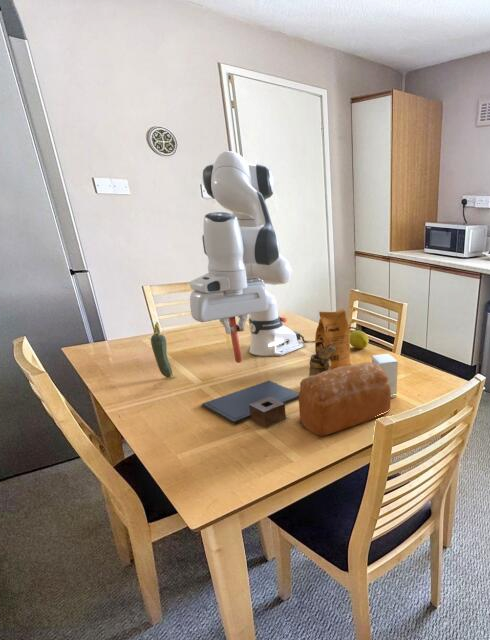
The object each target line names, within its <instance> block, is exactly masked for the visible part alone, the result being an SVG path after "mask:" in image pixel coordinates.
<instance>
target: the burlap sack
mask: <svg viewBox="0 0 490 640" xmlns="http://www.w3.org/2000/svg"><path fill="white" fill-rule="evenodd" d="M335 351H336V347H335V346H332V345H328V346H326V347H324V348H322V349H321V350H320V351H319V353H318V354H316V353H313V354H312V355H311V356H310V359H309V363H308V364H309V373H308V377H309V376H315V375H317V374H319V373H322V372H324V371H328V370H332V369H331V368H330V366H331V362H330V358H331V357H332V356H333V355H334V353H335Z"/></svg>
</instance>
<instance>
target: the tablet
mask: <svg viewBox="0 0 490 640" xmlns="http://www.w3.org/2000/svg"><path fill="white" fill-rule="evenodd" d="M298 394H299V392H297V391H294V390H292V389H289V388H287V387H286V386H283V385H282V384H281V385H280V384H279V383H276V382H274V381H271V380H266V381H263V382H260V383H256V384H255V385H251V386H249V387H246V388H243V389H240V390H237V391H234V392H231V393H228V394H226V395H223V396H219V397H217V398H214V399H211V400H207V401H205V402H203V403H201V406H202V407H203V408H204V409H206V410H208V411H210V412H212V413H213V414H215V415H217V416H219V417H220V418H222V419H224V420H226V421H228V422H229V423H231V424H233V425H237V424H239V423H242V422H244V421H247V420H250V419H251V416H250V408H249V404H252V403H255V402H257V401H260V400H262V399H265V398H268V397H271V398H274V399H276V400H278V401H280V402H282V403H284V404H285V405H286V404H288V403H290V402H293V401H296V400H299V396H298Z"/></svg>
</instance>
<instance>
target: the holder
mask: <svg viewBox="0 0 490 640" xmlns="http://www.w3.org/2000/svg"><path fill="white" fill-rule="evenodd" d="M249 408H250V416H251V418H250V421H253V422H254V423H256V424H258V425H260V426H261V427H264V428H265V429H266V428H269V427H271V426H273V425H276V424H278V423H279V422H282V421H284V420H286V419H287V414H286V404H284V403H282V402H280V401H278V400H276V399H274V398H271V397H268V398H265V399H262V400H260V401H257V402H255V403H252V404H249Z"/></svg>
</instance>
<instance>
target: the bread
mask: <svg viewBox="0 0 490 640" xmlns="http://www.w3.org/2000/svg"><path fill="white" fill-rule="evenodd" d="M299 388H300V390H299V392H298V393H299V394H298V396H299V398H298V409H299V410H298V411H299V414H298V415H299V422H300V423H301V424H302V425H303V427H305V429H307V430H308V431H310V433H313V434H315V435H317V436H318V437H323V436H328V435H331V434H334V433H338V432H340V431H343V430H345V429H346V430H347V429H348V428H351V427H353V426H356V425H359V424H362V423H365V422H367V421H370V420H373V419H376V418H379V417H382V416H385V415H387V414H388V413H389V412H390V411H391V398H390V396H391V392H390V385H389V382H388V376H387V374H386V373H385V372H384V371H383V370H382V369H381V368H380V367H378V366H377V365H376V364H373V363H372V362H370V361H365V362H361V363H356V364H355V363H354V364H350V365H347V366H342V367H337V368H333V369H331V370H328V371H324V372H322V373H319V374H317V375H315V376H309V375H308V376H306V377H304V378H302V379H301V381H300V382H299ZM389 409H390V410H389ZM388 410H389V411H388ZM386 411H388V412H387V413H384V412H386ZM381 413H384V414H381ZM379 414H381V415H379ZM377 415H379V416H377ZM375 416H376V417H375Z"/></svg>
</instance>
